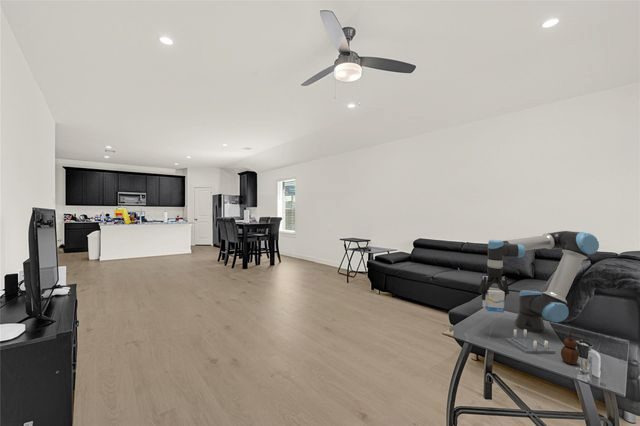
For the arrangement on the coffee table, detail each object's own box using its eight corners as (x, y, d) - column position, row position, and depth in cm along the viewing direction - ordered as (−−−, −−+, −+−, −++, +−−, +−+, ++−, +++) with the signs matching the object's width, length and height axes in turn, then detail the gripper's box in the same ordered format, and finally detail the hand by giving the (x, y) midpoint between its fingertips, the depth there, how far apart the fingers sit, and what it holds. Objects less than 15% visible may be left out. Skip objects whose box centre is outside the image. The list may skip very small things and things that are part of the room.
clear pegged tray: (532, 340, 159) (532, 329, 159) (556, 353, 144) (556, 341, 144) (505, 340, 158) (505, 329, 158) (526, 353, 143) (527, 341, 143)
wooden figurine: (572, 366, 132) (574, 335, 132) (558, 360, 138) (559, 330, 137) (580, 364, 135) (582, 333, 135) (566, 358, 140) (567, 328, 140)
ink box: (504, 312, 158) (505, 292, 158) (487, 311, 160) (488, 290, 159) (498, 307, 166) (498, 287, 166) (482, 306, 168) (483, 286, 168)
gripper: (508, 266, 167) (507, 303, 167) (472, 265, 166) (470, 303, 166) (518, 268, 159) (516, 308, 160) (480, 268, 158) (478, 307, 158)
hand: (493, 305), depth 163 cm, fingers closed on ink box, 9 cm apart
